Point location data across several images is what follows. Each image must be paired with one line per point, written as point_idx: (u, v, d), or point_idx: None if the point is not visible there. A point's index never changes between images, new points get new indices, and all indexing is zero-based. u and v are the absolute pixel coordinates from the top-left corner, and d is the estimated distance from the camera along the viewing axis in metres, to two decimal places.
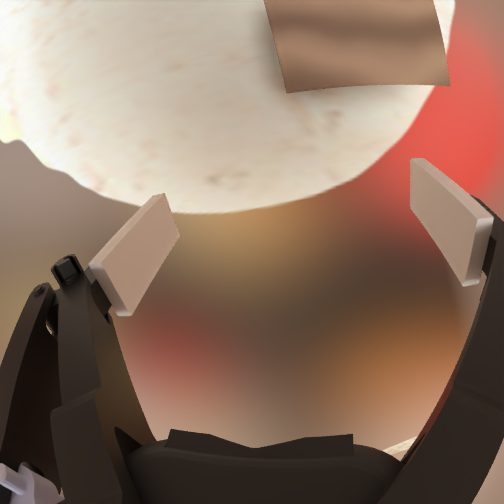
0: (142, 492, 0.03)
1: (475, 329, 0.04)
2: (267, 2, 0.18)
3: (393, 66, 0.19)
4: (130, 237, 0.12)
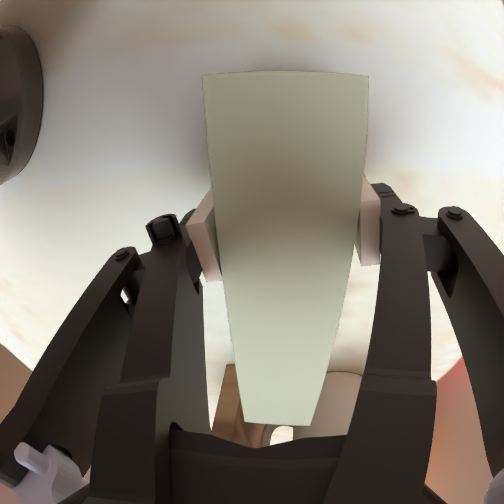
0: None
1: (375, 315, 0.05)
2: None
3: None
4: None
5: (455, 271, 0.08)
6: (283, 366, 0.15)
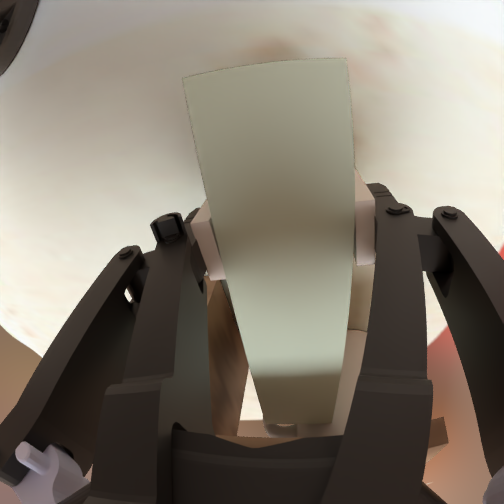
0: None
1: (370, 315, 0.05)
2: None
3: None
4: None
5: (450, 271, 0.08)
6: (297, 363, 0.14)
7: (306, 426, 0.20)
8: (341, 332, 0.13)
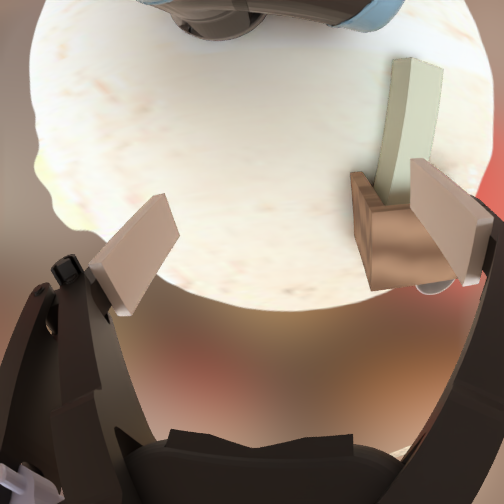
0: (142, 492, 0.03)
1: (475, 329, 0.04)
2: (374, 234, 0.33)
3: (436, 272, 0.35)
4: (130, 237, 0.12)
5: None
6: (414, 155, 0.33)
7: None
8: (431, 143, 0.32)
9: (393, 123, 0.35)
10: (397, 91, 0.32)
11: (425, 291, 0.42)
